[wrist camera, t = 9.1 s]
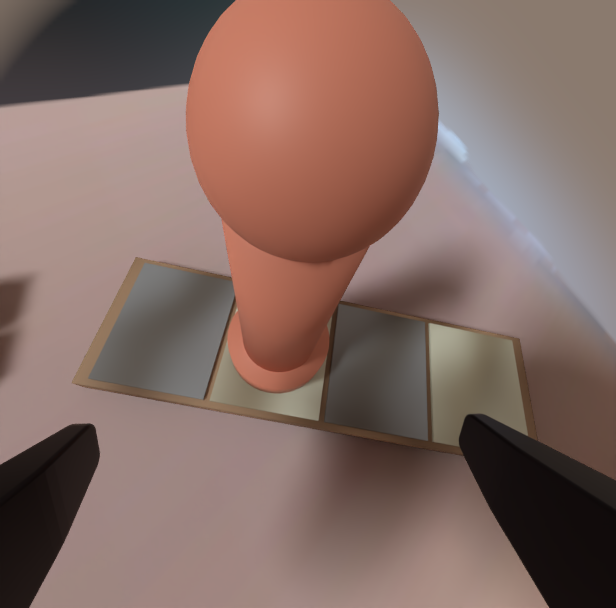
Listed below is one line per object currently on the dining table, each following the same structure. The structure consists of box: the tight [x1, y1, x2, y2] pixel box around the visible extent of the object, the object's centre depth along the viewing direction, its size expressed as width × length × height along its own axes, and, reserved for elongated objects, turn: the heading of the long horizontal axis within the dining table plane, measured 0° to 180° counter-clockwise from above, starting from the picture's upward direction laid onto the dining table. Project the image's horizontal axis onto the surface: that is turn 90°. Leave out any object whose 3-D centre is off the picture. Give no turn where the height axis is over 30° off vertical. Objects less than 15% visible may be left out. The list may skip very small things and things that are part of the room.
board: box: [72, 257, 538, 456], centre depth 16 cm, size 23×7×1 cm, turn 81°
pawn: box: [186, 0, 439, 394], centre depth 9 cm, size 5×5×14 cm
